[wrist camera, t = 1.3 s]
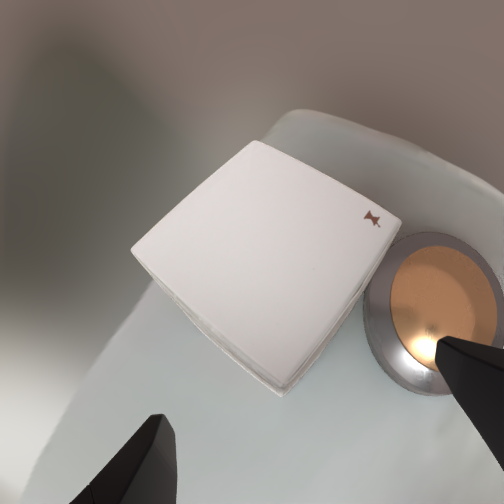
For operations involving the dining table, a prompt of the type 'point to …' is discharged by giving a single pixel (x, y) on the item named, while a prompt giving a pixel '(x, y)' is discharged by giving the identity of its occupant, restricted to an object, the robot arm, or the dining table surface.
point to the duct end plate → (429, 307)
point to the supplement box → (268, 260)
